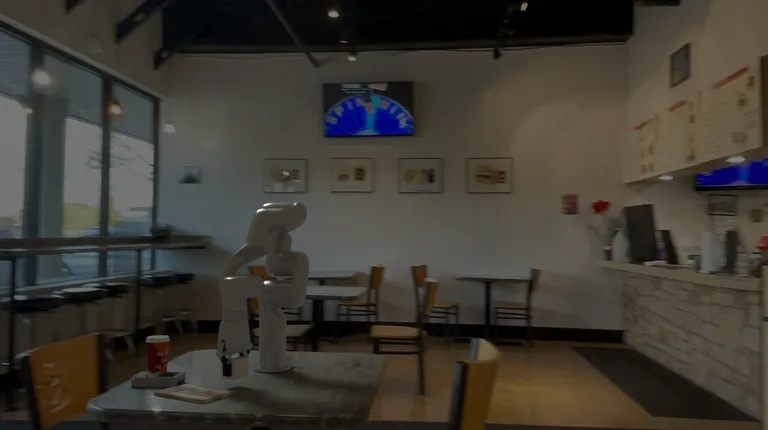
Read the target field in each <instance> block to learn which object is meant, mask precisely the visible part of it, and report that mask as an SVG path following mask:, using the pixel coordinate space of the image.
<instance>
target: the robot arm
mask: <svg viewBox="0 0 768 430" xmlns="http://www.w3.org/2000/svg"><path fill="white" fill-rule="evenodd" d="M307 217H308V211H307V207H306V205H305V204H304V203H302V202H299V201H287V202H286V201H275V202H274V201H273V202H267V203H264V204H263V205H262V206H261V207H260V209H257V210H256V211H255V212H254V213H253V217H252V219H251V223H250V226H249V229H248V232H247V235H246V239H245V242H244V245H243V246H241V247H240V248H239V249H237V250H236V251H235V252H234V253H233V254H232V255H231V256H230V257H229V258H228V259H227V261H226V262H225V264H224V267H223V269H222V272H221V276H220V281H219V291H220V293H221V295H222V297H221V298H222V307H221V308H222V312H221V313H222V314H221V316H222V321H220V324H219V328H218V335H217V338H218V339H217V350H216V352H215V356H216V357H217V358H218V359H219V360H220V364H221V363H223V376H227V377H231V376H232V364H231V363H230V361H231V357H232V356H233V354H234V355H235V354H238V355H237V356H243V357H249V355H250V354H251V351H252V349H253V348H254V345H253V343H252V342H251V339H250V338H251V337H250V336H251V335H250V334H251V333H250V326H249V325H250V324H249V320H248V299H249V298H253V299H254V298H256V299H257V305H258V319H259V320H258V321H259V322H258V323H259V325H258V326H259V328H258V332H259V333H258V334H259V335H258V339H259V340H258V358H259V359H258V364H257V365H254V371H255V372H258V373H266V374H267V373H268V374H269V373H281V372H287V371H289V370H291V365H290V364H289V363H288V362H290V361H293V360H294V358H295V357H294V355H293V354H291V355H288V354H287V317H286V315H285V313H284V312H283V310H282V308H287V309H288V308H291V309H292V308H295V309H297V308H300V307H303V305H304V304H305V301H306V297H307V290H308V280H309V272H310V261H309V257H308V256H307V254H306V253H305V252H303V251H300V250H299V251H298V250H297V251H296V250H293V251H292V243H293V239H292V236H291V234H290V233H291V232H293V231H295V230H296V229H297V228H299V227H301V226H302V225H303V224H305V222H306V221H307ZM264 257H265V263H264V265H265V266H264V269H265V270H264V271H265V273H266V275H267V276H269V277H271V278H288V279H289V278H292V280H281V279H280V280H278V279H276V280H275V279H274V280H273V279H271V280H270V279H268V280H264V279H263V278H262V276H260V275H258V274H250V273H248V274H245V273H241V274H240V273H239V271H240V270H241V269H243V267H244V266H246V265H248V264H250V263H252V262H254V261H256V260H259V259H261V258H264ZM226 357H227V358H226Z"/></svg>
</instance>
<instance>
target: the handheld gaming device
mask: <svg viewBox="0 0 768 430" xmlns="http://www.w3.org/2000/svg"><path fill="white" fill-rule="evenodd" d="M186 375H187V374H186V371H167V372H155V371H154V372H148V370H147V371H141V372H138V373H136V374H134V375H133V376H132V378H131V380H130V385H131V386H130V387H132V388H170V387H175V386H178V383H183V384H184V382H186Z"/></svg>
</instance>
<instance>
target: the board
mask: <svg viewBox="0 0 768 430" xmlns="http://www.w3.org/2000/svg"><path fill="white" fill-rule="evenodd" d="M153 395H154V396H157V397H163V398H168V399H175V400H179V401H186V402H192V403H196V404H202V405H203V404H206V403H210V402H211V403H212V402H214V401H218V400H221V399H224V398H229V397H232V396H234V395H237V391H236V390H233V389H232V390H231V389H226V388H225V389H224V388H220V387H219V388H218V387H213V386H208V385H207V386H206V385H200V384H195V383H194V384H193V383H185V384H184V383H183V384H179V385H177V386H175V387H170V388H167V387H165V388H163V389H161V390H157V391H154V392H153Z"/></svg>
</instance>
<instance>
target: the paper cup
mask: <svg viewBox="0 0 768 430" xmlns="http://www.w3.org/2000/svg"><path fill="white" fill-rule="evenodd" d="M170 339H171V338H170V336H169V335H160V334H159V335H150V336H147V337H146V340H145V342H146V357H147V358H146V360H147V361H146V362H147V372H154V371H155V372H168V363H169V362H168V361H169V348H170V347H169V346H170V341H171V340H170Z"/></svg>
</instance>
